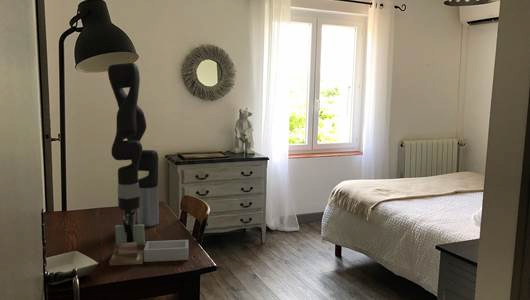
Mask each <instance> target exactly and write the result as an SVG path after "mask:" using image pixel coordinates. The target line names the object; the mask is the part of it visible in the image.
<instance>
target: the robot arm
mask: <svg viewBox="0 0 530 300" xmlns="http://www.w3.org/2000/svg"><path fill="white" fill-rule="evenodd" d="M107 74H108V79H109V80H108V81H109V83H110V86H111V89H112V92H113V95H114V98H115V100H116V103H117V107H118V110H117V112H116V131H115V138H114V140H113V143H112V146H111V151H110V152H111V156H112V158H113V159H114V160H116V161H130V162H131V163H129V164H128V165H124V166H121V167H119V168H118V169H117V204H118V205H117V208H118V209H119V210H121V211H124V213H122V218H123V221H122V223H123V225H124V229H125V233H126V234H127V242H133V226H134V225H136V216H137V225H138V224H144V227H154V226H157V225H159V223H160V219H159V218H160V214H159V213H160V211H159V209H160V206H159V154H158V152H157V150H154V149H143V145H142V143H141V139H142V138H143V137H144V135H145V133H146V130H147V121H146V117H145V113H144V111H143V109H142V108H141V107H140V106H139V105H138V101H139V90H140V81H141V79H140V71H139V68H138V65H137V64H136V63H134V62H128V63H127V62H126V63H125V62H123V63H117V64H116V63H115V64H111V65H109V66H108V68H107ZM125 89H129V90H128V92H127V93H126V92H125ZM139 172H148V175H146V176H144V177H141V178H139ZM135 210H137V215H136V211H135ZM127 228H130V229H127Z"/></svg>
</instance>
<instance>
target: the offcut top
mask: <svg viewBox="0 0 530 300" xmlns="http://www.w3.org/2000/svg"><path fill="white" fill-rule="evenodd" d="M127 253H137V242H136V243H124V244H119V254H127Z"/></svg>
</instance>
